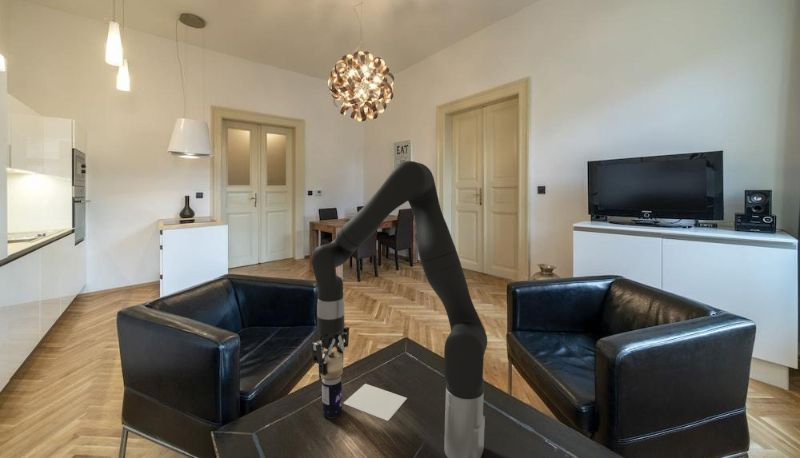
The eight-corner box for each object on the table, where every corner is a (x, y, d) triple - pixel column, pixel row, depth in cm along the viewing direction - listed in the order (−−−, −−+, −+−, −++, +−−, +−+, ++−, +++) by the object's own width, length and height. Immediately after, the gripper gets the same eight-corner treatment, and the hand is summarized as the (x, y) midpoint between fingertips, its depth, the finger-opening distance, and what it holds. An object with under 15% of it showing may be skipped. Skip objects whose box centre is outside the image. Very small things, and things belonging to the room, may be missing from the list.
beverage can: (337, 422, 95) (337, 382, 94) (319, 419, 96) (318, 380, 95) (345, 409, 101) (344, 371, 99) (327, 406, 102) (326, 369, 100)
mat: (407, 399, 106) (407, 398, 106) (387, 422, 95) (387, 420, 95) (365, 384, 113) (365, 383, 113) (343, 404, 103) (343, 403, 103)
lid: (347, 370, 98) (347, 351, 97) (333, 381, 93) (332, 360, 92) (330, 364, 101) (329, 345, 101) (315, 375, 96) (315, 355, 95)
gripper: (323, 324, 87) (325, 385, 89) (356, 307, 99) (357, 360, 101) (302, 319, 90) (304, 377, 92) (336, 303, 103) (337, 354, 105)
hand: (331, 368), depth 97 cm, fingers closed on lid, 6 cm apart
